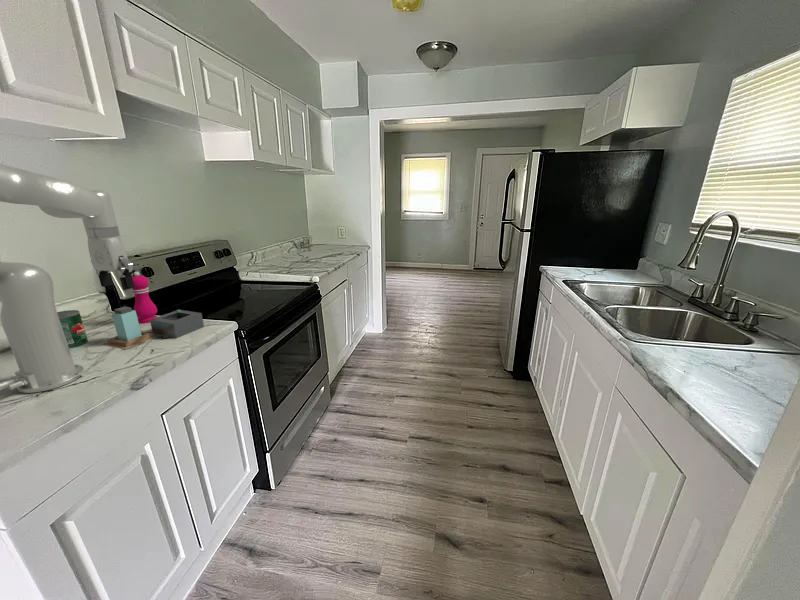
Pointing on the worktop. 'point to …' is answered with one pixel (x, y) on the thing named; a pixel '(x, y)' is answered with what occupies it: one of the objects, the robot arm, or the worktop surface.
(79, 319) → the canned tomato
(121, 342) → the square wooden tray
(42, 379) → the robot arm
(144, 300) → the pepper mill
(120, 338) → the plug
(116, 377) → the worktop surface
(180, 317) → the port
